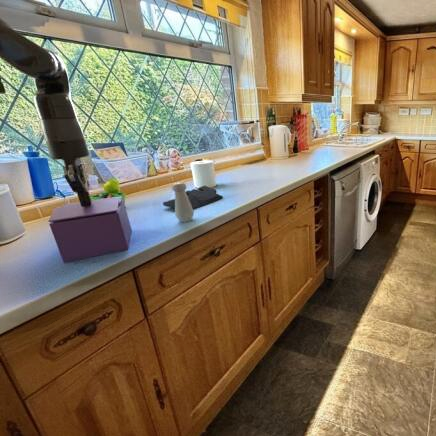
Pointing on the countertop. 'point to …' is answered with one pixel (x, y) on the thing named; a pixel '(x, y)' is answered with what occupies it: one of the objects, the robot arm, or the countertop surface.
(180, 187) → the salt shaker
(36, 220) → the countertop surface
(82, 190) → the robot arm
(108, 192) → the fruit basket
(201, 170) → the toilet paper
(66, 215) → the flap
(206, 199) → the dark slate chunk
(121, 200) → the carton
